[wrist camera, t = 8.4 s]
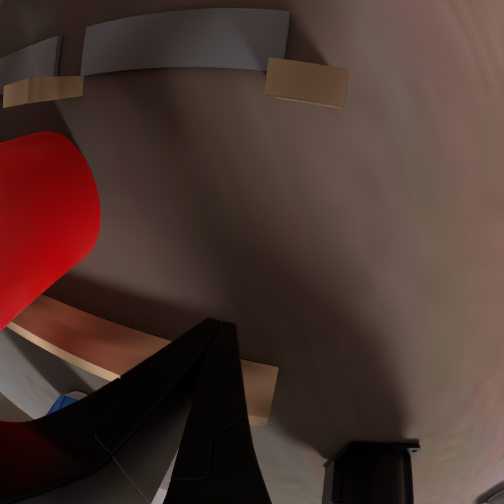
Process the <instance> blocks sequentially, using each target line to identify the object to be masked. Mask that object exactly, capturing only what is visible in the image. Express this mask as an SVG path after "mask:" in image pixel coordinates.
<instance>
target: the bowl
mask: <svg viewBox="0 0 504 504" xmlns="http://www.w3.org/2000/svg"><path fill="white" fill-rule="evenodd" d="M487 504H504V490H502V491H500V492H499V493H497V494H495V495H494V496H492V497H491V498H490V499H488V503H487Z"/></svg>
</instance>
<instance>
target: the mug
mask: <svg viewBox="0 0 504 504" xmlns="http://www.w3.org/2000/svg"><path fill="white" fill-rule="evenodd" d="M100 217H101V214H100V201H99V196H98V191H97V186H96V183H95V181H94V178H93V175H92V172H91V170H90V168H89V166H88V164H87V162H86V160H85V158H84V157H83V155H82V154H81V152H80V151H79V150H78V148H77V147H76V146H75V145H74V144H73V143H72V142H71V141H70V140H69V139H68V138H66V137H64V136H63V135H61V134H59V133H56V132H53V131H41V132H37V133H33V134H29V135H25V136H22V137H18V138H15V139H11V140H8V141H4V142H1V143H0V332H1V331H2V330H3V329H4V328H5V327H6V326H7V325H8V324H9V323H10V322H11V321H12V320H13V319H14V318H15V317H16V316H17V315H19V314H20V313H21V312H22V311H23V310H24V309H25V308H26V307H27V306H28V305H29V304H31V303H32V302H33V301H34V300H35V299H36V298H37V297H38V296H39V295H41V294H42V293H43V292H44V291H45V290H46V289H47V288H49V287H50V286H51V285H52V284H53V283H54V282H56V281H57V280H58V279H59V278H60V277H62V276H63V275H64V274H65V273H66V272H68V271H69V270H70V269H71V268H72V267H74V266H75V265H76V264H77V263H79V262H80V261H81V260H82V259H84V258H85V257H86V256H87V255H88V254H89V253H90V252H91V250H92V249H93V247H94V245H95V243H96V241H97V237H98V233H99V230H100Z"/></svg>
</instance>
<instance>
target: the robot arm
mask: <svg viewBox="0 0 504 504" xmlns="http://www.w3.org/2000/svg"><path fill="white" fill-rule="evenodd" d="M178 448H179V450H178ZM177 450H178V454H177V457H176V461H175V465H174V468H173V472H172V476H171V481H170V484H169V487H168V491H167V494H166V497H165V499H164V502H163V504H272V502H271V500H270V497H269V494H268V491H267V488H266V485H265V482H264V479H263V476H262V474H261V471H260V468H259V464H258V461H257V457H256V454H255V450H254V446H253V441H252V436H251V431H250V424H249V418H248V410H247V403H246V396H245V388H244V381H243V373H242V366H241V358H240V350H239V342H238V334H237V326H236V324H235V323H231V322H227V321H222V322H221V320H218V319H214V318H210V317H208V318H206V319H204V320H203V321H201V322H200V323H198V324H197V325H196V326H194V327H193V328H191V329H190V330H188V331H187V332H185V333H184V334H182V335H181V336H179V337H178V338H176V339H175V340H173V341H172V342H171V343H169V344H168V345H166V346H165V347H163V348H162V349H160V350H159V351H157V352H156V353H154V354H153V355H151V356H150V357H148V358H147V359H145V360H144V361H142V362H141V363H139V364H137V365H136V366H134V367H133V368H131V369H130V370H128V371H127V372H125V373H124V374H122V375H121V376H120V378H119V377H117V378H116V379H114V380H113V381H111V382H110V383H108V384H106V385H105V386H103V387H101V388H100V389H98V390H96V391H95V392H93V393H91V394H89V395H87V396H85V397H83V398H82V399H80V400H78V401H76V402H73V403H71V404H69V405H67V406H65V407H63V408H61V409H58V410H56V411H54V412H52V413H50V414H47V415H45V416H43V417H41V418H38V419H35V420H32V421H27V422H5V421H0V504H151V503H152V501H153V498H154V497H155V495H156V493H157V491H158V489H159V487H160V485H161V483H162V481H163V479H164V477H165V475H166V472H167V470H168V468H169V466H170V464H171V462H172V460H173V458H174V456H175V454H176V452H177ZM419 451H420V445H419V444H368V443H350V444H348V445H347V446H346V447H345V448H344V450H343V451H342V452H341V453H340V454H339V455H338V456H337V458H335V459H334V460H333V461H332V462H331V463H330V464H329V466H328V467H327V468H326V469H325V477H324V487H323V496H322V504H414V496H413V478H412V465H411V458H412V457H413V456H414V455H415V454H416V453H417V452H419Z"/></svg>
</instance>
